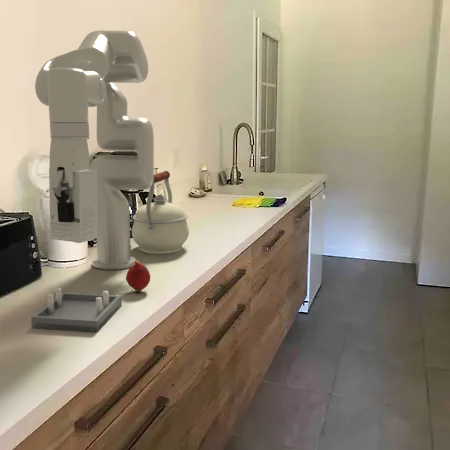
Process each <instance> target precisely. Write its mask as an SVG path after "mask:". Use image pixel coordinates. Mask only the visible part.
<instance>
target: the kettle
mask: <svg viewBox="0 0 450 450" xmlns="http://www.w3.org/2000/svg"><path fill="white" fill-rule="evenodd" d="M170 177H171V174H170V171H168V170H163V171H162V172H158V173H155V174H154V177H153V183H152V185H151V187H150V188H149V191H148V195H147V200H146V204H143V205H142V206H140V207H139V208H138V209H137V210H136V212H135V214H134V215H132V219H133V225H132V230H131V236H132V239H133V241H134V242H135V244H137V246H138V250H139V251H140V252H142V253H144V254H148V255H169V254H175V253H177V252H179V251H182V249H183V245H184V243H186V241H187V239H188V238H189V231H190V230H189V225H188V223H187V219H188V218H189V217H188V214H186V213H185V211H184V210H183V208H182V207H181V206H180V205H177V204H175V203H173V193H172V190H171V185H170V179H169V178H170ZM162 181H164V185H165V188H166V192H167V199H166V197H165V196H164V195H162V194H158V195H156V196H155V197H154V199H153V196H154V192H155V184H156V183H160V182H162ZM152 201H154V202H152ZM166 201H167V202H166Z"/></svg>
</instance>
